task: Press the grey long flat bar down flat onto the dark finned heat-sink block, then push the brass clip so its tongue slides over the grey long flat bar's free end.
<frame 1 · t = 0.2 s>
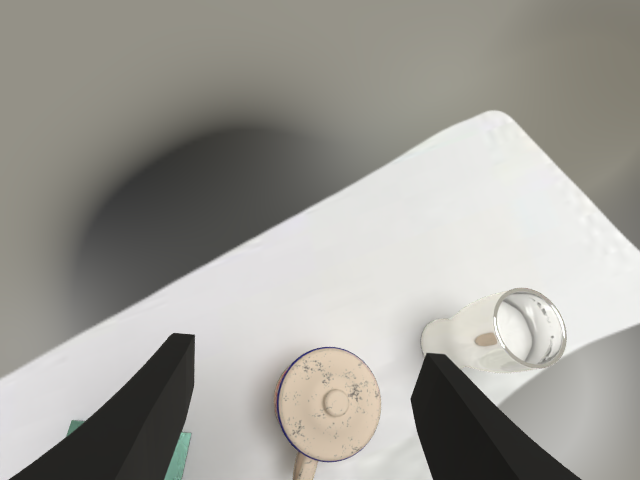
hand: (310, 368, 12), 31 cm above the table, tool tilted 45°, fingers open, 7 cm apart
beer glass: (444, 345, 46), on the table
teacup with lid: (310, 413, 40), on the table
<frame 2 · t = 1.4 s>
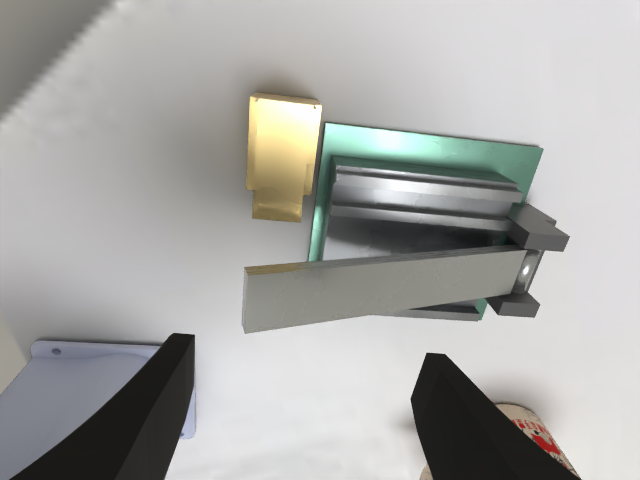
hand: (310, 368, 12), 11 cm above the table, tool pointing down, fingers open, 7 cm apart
grey forked bracket: (489, 239, 23), on the table
teacup with lid: (470, 435, 30), on the table
grey long flat bar: (410, 281, 17), point 6 cm above the table, hinge at 18.0°
heat-sink block: (399, 231, 22), on the table
clip: (282, 151, 17), point 2 cm above the table, slide at 0.0 cm
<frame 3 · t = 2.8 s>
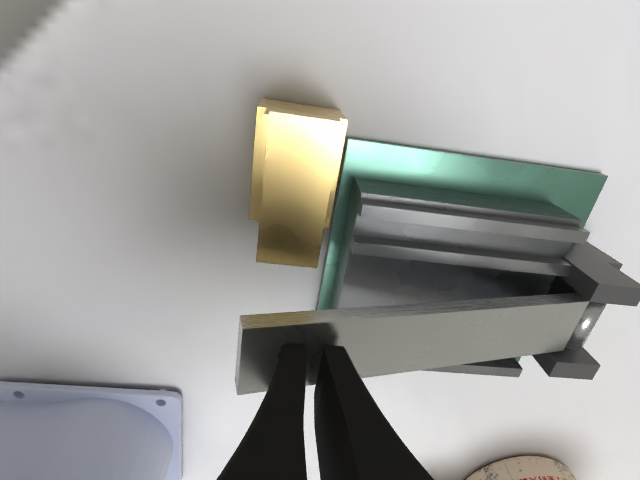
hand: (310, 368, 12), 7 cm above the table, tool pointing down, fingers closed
grey forked bracket: (533, 277, 19), on the table
grey long flat bar: (444, 335, 14), point 5 cm above the table, hinge at 14.2°, touching gripper
heat-sink block: (428, 266, 19), on the table
clip: (295, 174, 14), point 2 cm above the table, slide at 0.0 cm
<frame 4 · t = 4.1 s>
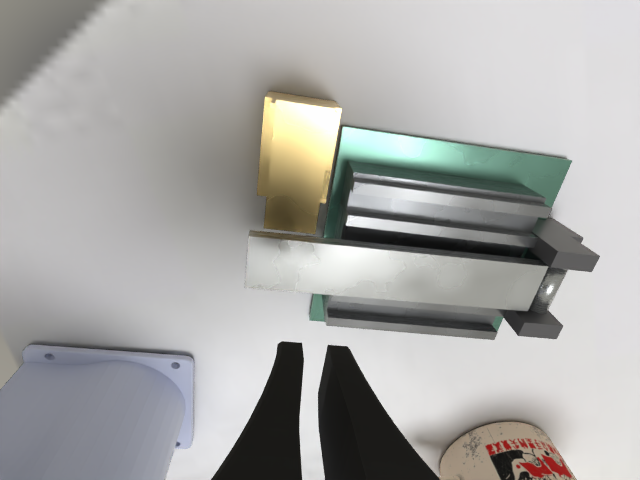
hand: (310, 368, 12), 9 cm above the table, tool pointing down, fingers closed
grey forked bracket: (508, 252, 22), on the table
teacup with lid: (475, 452, 29), on the table
grey long flat bar: (409, 274, 17), point 4 cm above the table, hinge at 1.2°
heat-sink block: (414, 242, 21), on the table
clip: (296, 156, 16), point 2 cm above the table, slide at 0.0 cm
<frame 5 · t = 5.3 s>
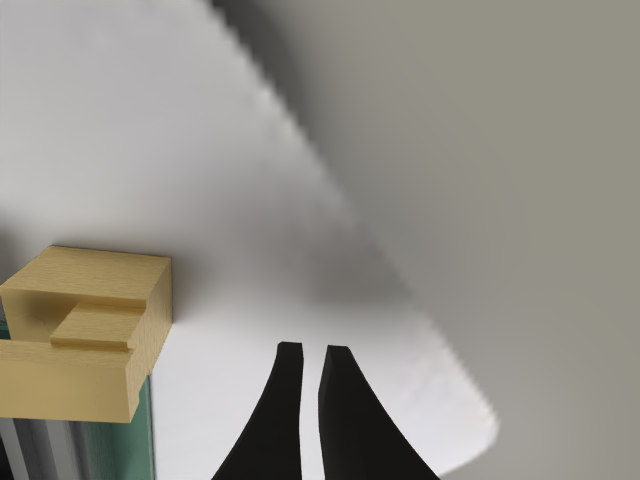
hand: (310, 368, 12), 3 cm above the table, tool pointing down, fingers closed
heat-sink block: (17, 415, 16), on the table
clip: (77, 330, 12), point 2 cm above the table, slide at 0.0 cm
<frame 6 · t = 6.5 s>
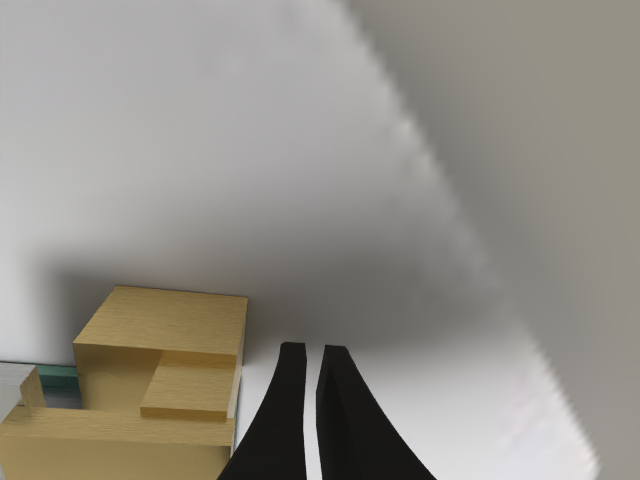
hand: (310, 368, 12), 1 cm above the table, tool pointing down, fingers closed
heat-sink block: (91, 462, 15), on the table
clip: (155, 385, 11), point 2 cm above the table, slide at 1.0 cm, touching gripper
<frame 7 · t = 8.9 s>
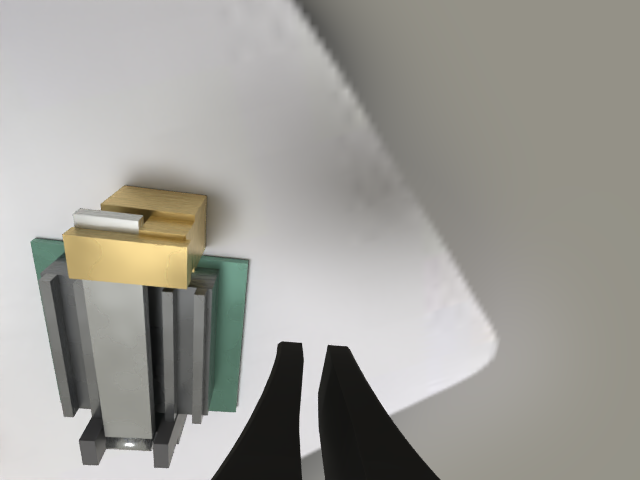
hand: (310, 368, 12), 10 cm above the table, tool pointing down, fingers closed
grey forked bracket: (152, 391, 25), on the table
grey long flat bar: (122, 349, 19), point 4 cm above the table, hinge at 1.2°, touching clip
heat-sink block: (148, 324, 23), on the table
clip: (147, 237, 18), point 2 cm above the table, slide at 3.4 cm, touching grey long flat bar
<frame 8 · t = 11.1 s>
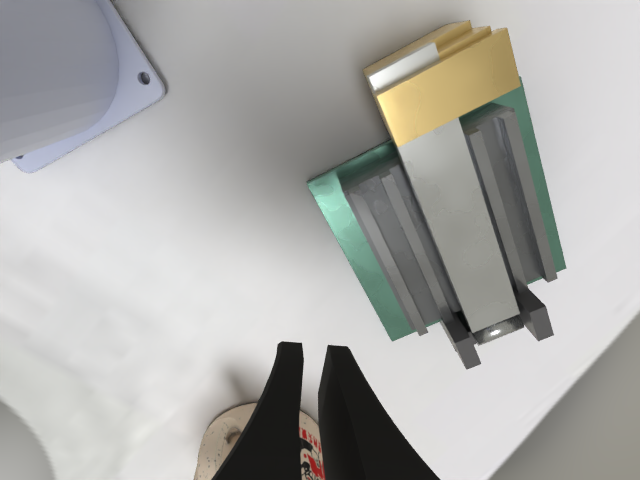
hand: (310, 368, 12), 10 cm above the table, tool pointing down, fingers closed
grey forked bracket: (468, 290, 23), on the table
teacup with lid: (257, 426, 27), on the table
grey long flat bar: (458, 222, 17), point 4 cm above the table, hinge at 1.2°, touching clip
heat-sink block: (439, 215, 21), on the table
clip: (427, 85, 16), point 2 cm above the table, slide at 3.4 cm, touching grey long flat bar
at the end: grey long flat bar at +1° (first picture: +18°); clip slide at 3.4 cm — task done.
